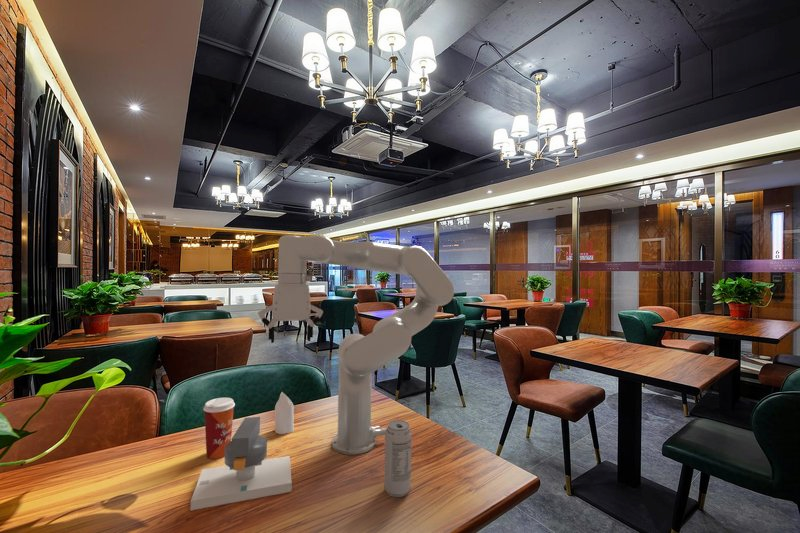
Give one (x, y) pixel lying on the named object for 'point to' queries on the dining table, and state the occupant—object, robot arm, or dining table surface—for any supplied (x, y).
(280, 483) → the base
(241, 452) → the lock knob
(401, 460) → the energy drink can
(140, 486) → the dining table surface
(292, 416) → the white pointed block
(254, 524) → the dining table surface
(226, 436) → the paper cup
